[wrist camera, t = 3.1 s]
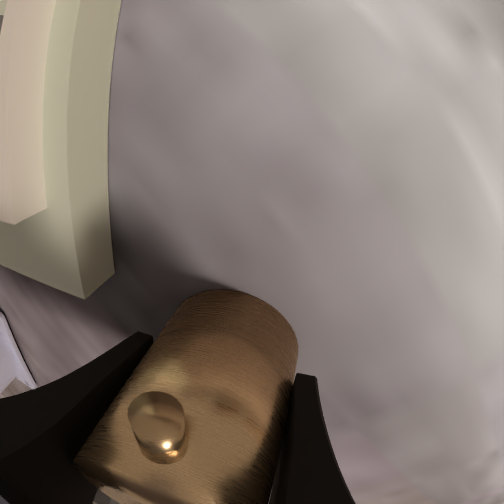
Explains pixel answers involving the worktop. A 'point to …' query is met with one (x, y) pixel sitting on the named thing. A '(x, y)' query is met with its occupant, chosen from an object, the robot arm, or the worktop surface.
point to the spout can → (199, 408)
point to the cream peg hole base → (56, 140)
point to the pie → (103, 498)
